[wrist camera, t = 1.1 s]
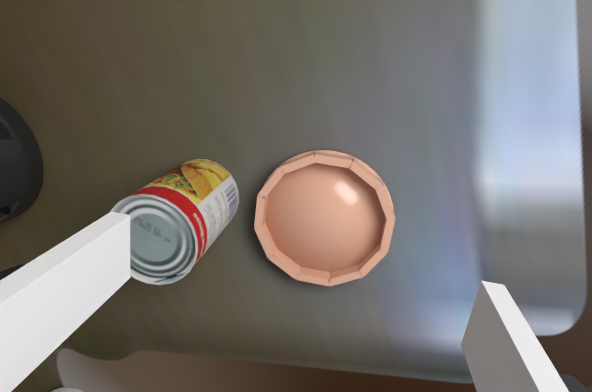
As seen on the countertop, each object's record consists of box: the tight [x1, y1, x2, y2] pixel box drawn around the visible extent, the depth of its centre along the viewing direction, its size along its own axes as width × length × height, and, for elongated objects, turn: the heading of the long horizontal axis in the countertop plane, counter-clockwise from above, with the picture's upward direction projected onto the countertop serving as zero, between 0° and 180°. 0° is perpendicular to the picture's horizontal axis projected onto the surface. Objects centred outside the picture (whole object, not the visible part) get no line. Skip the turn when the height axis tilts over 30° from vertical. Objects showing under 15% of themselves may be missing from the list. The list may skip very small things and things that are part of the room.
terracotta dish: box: [254, 150, 395, 286], centre depth 42 cm, size 14×14×2 cm
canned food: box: [109, 159, 239, 285], centre depth 39 cm, size 8×8×12 cm
